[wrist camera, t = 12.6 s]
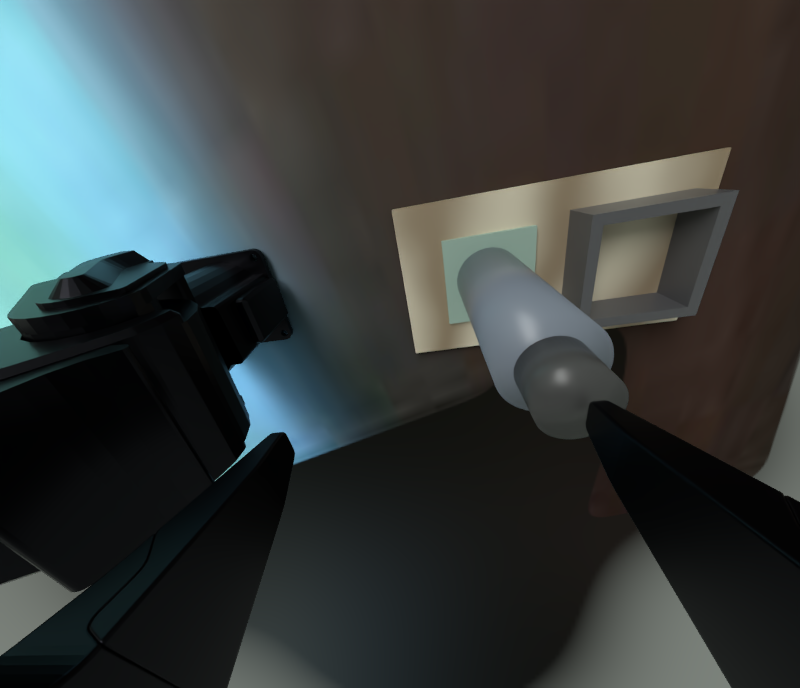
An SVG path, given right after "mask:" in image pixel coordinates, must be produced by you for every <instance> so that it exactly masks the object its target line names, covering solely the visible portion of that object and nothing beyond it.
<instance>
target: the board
mask: <svg viewBox="0 0 800 688" xmlns="http://www.w3.org/2000/svg"><path fill="white" fill-rule="evenodd" d="M730 150H731V147H730V148H722V149H716V150H711V151H706V152H700V153H695V154H689V155H684V156H679V157H673V158H668V159H662V160H657V161H652V162H646V163H641V164H636V165H630V166H625V167H619V168H614V169H609V170H603V171H598V172H592V173H587V174H582V175H576V176H571V177H566V178H560V179H555V180H549V181H544V182H539V183H533V184H528V185H522V186H517V187H512V188H506V189H501V190H495V191H490V192H485V193H479V194H474V195H469V196H463V197H458V198H452V199H447V200H442V201H436V202H431V203H425V204H420V205H415V206H409V207H404V208H398V209H393V210H392V216H393V222H394V227H395V233H396V239H397V245H398V251H399V257H400V263H401V269H402V274H403V280H404V286H405V292H406V298H407V304H408V310H409V315H410V321H411V327H412V333H413V339H414V345H415V351H416V353H422V352H430V351H438V350H446V349H454V348H461V347H469V346H477V345H479V342H478V340H477V337H476V335H475V332H474V329H473V327H472V324H471V322H470V321H469V322H461V323H454V324H450V323H449V314H448V304H447V294H446V284H445V274H444V264H443V254H442V244H441V241H444V240H449V239H455V238H461V237H467V236H473V235H479V234H485V233H491V232H497V231H502V230H508V229H514V228H520V227H526V226H532V225H537V243H536V262H535V273H536V274H537V275H538V276H540V277H541V278H542V279H543V280H544V281H546V282H547V283H548V284H549V285H551V286H552V287H553V288H554V289H555V290H557V291H558V292H559V293H560V294H562V286H563V276H564V266H565V256H566V246H567V236H568V226H569V216H570V210H573V209H579V208H584V207H590V206H596V205H602V204H607V203H613V202H619V201H625V200H631V199H636V198H642V197H648V196H654V195H659V194H665V193H671V192H677V191H683V190H688V189H694V188H702V189H718V188H719V185H720V182H721V179H722V175H723V172H724V169H725V166H726V163H727V160H728V156H729V153H730ZM677 214H678V213H676V214H670V215H664V216H658V217H652V218H646V219H640V220H634V221H628V222H622V223H615V224H609V225H604V227H603V233H602V240H601V246H600V253H599V259H598V266H597V272H596V279H595V285H594V291H593V298H592V301H597V300H605V299H612V298H619V297H626V296H634V295H641V294H648V293H655V292H657V290H658V286H659V282H660V278H661V274H662V271H663V267H664V263H665V259H666V256H667V252H668V248H669V244H670V240H671V237H672V233H673V229H674V225H675V222H676V218H677ZM677 318H678V317H677ZM677 318H669V319H661V320H653V321H645V322H638V323H630V324H622V325H614V326H606V327H602V328H603V329H611V328H619V327H627V326H634V325H642V324H650V323H658V322H666V321H674V320H677Z"/></svg>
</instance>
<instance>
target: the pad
mask: <svg viewBox="0 0 800 688" xmlns="http://www.w3.org/2000/svg"><path fill="white" fill-rule="evenodd" d="M536 243H537V225H532V226H526V227H520V228H514V229H508V230H502V231H497V232H491V233H485V234H479V235H473V236H467V237H461V238H455V239H449V240H444V241H441V244H442V254H443V264H444V274H445V284H446V294H447V304H448V314H449V323H450V324H454V323H461V322H469V321H470V319H469V316H468V314H467V311H466V309H465V306H464V304H463V301H462V298H461V296H460V293H459V290H458V286H457V278H458V273H459V270H460V268H461V266H462V264H463V263H464V262H465V260H466V259H467V258H468V257H470V256H471V255H472V254H473V253H475V252H477V251H479V250H481V249H485V248H491V247H497V248H502V249H505V250H507V251H509V252H510V253H511V254H513V255H514V256H515V257H516V258H518V259H519V260H520V261H521V262H522V263H524V264H525V265H526V266H527V267H529V268H530V269H531V270H532V271H533V272H535V262H536Z"/></svg>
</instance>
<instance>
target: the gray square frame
mask: <svg viewBox="0 0 800 688" xmlns="http://www.w3.org/2000/svg"><path fill="white" fill-rule="evenodd" d="M738 192H739V190H724V189H702V188H694V189H688V190H683V191H677V192H671V193H665V194H659V195H654V196H648V197H642V198H636V199H631V200H625V201H619V202H613V203H607V204H602V205H596V206H590V207H584V208H579V209H573V210H570V216H569V226H568V236H567V246H566V256H565V266H564V276H563V286H562V295H563V296H564V297H565V298H566V299H568V300H569V301H570V302H571V303H573V304H574V305H575V306H576V307H578V308H579V309H580V310H581V311H582V312H584V313H585V314H586V315H587V316H589V317H590V318H591V319H592V320H593V321H595V322H596V323H597V324H598V325H600V326H601V327H606V326H614V325H622V324H630V323H638V322H645V321H653V320H661V319H669V318H677V317H685V316H692V315H696V313H697V310H698V307H699V305H700V302H701V299H702V296H703V293H704V290H705V287H706V284H707V281H708V279H709V276H710V273H711V270H712V267H713V264H714V261H715V258H716V255H717V253H718V250H719V247H720V244H721V241H722V238H723V235H724V232H725V229H726V227H727V224H728V221H729V218H730V215H731V212H732V209H733V206H734V203H735V201H736V198H737V195H738ZM676 213H678V214H677V218H676V222H675V225H674V229H673V233H672V237H671V240H670V244H669V248H668V252H667V256H666V259H665V263H664V267H663V271H662V274H661V278H660V282H659V286H658V290H657V292H655V293H648V294H641V295H634V296H626V297H619V298H612V299H605V300H597V301H592V298H593V291H594V285H595V279H596V272H597V266H598V259H599V253H600V246H601V240H602V233H603V227H604V225H609V224H615V223H622V222H628V221H634V220H640V219H646V218H652V217H658V216H664V215H670V214H676Z"/></svg>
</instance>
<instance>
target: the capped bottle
mask: <svg viewBox="0 0 800 688" xmlns="http://www.w3.org/2000/svg"><path fill="white" fill-rule="evenodd" d="M457 286H458V290H459V293H460V296H461V298H462V301H463V304H464V306H465V309H466V311H467V314H468V316H469V319H470V322H471V324H472V327H473V329H474V332H475V335H476V337H477V340H478V342H479V345H480V348H481V350H482V353H483V355H484V358H485V361H486V363H487V366H488V368H489V371H490V374H491V376H492V379H493V381H494V384H495V386H496V389H497V391H498V392H499V394H500V395H501V396H502V397H503V398H504V399H505V400H506V401H507V402H508V403H510V404H512V405H514V406H515V407H518V408H520V409H524V410H529V411H530V413H531V415H532V417H533V419H534V421H535V423H536V425H537V427H538V428H539V429H540V430H541V431H542V432H544V433H545V434H547V435H549V436H552V437H555V438H560V439H578V438H584V437H588V436H589V434H588V432H587V429H586V418H587V413H588V407H589V404H590V403H591V402H592V401H601V400H607V401H610V402H612V403H614V404H616V405H618V406H620V407H621V408H623V409H626V407H627V404H628V400H629V394H628V389H627V387H626V385H625V384H624V382H623V381H622V380H621V379H620V378H619V377H617V375H616V374H614V373H613V372H612V371H611V370H610V369H611V367H612V363H613V359H614V348H613V343H612V341H611V338H610V337H609V335H608V334H607V332H606V331H605V330H604V329H603V328H602V327H601V326H600V325H598V324H597V323H596V322H595V321H593V320H592V319H591V318H590V317H589V316H587V315H586V314H585V313H584V312H582V311H581V310H580V309H579V308H578V307H576V306H575V305H574V304H573V303H571V302H570V301H569V300H568V299H566V298H565V297H564V296H563V295H562V294H560V293H559V292H558V291H557V290H555V289H554V288H553V287H552V286H551V285H549V284H548V283H547V282H546V281H544V280H543V279H542V278H541V277H540V276H538V275H537V274H536V273H535V272H533V271H532V270H531V269H530V268H529V267H527V266H526V265H525V264H524V263H522V262H521V261H520V260H519V259H518V258H516V257H515V256H514V255H513V254H511V253H510V252H509V251H507V250H505V249H502V248H497V247H491V248H485V249H481V250H479V251H477V252H475V253H473V254H472V255H471V256H470V257H468V258H467V259H466V260H465V262H464V263H463V264H462V266H461V268H460V270H459V273H458V278H457Z"/></svg>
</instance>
